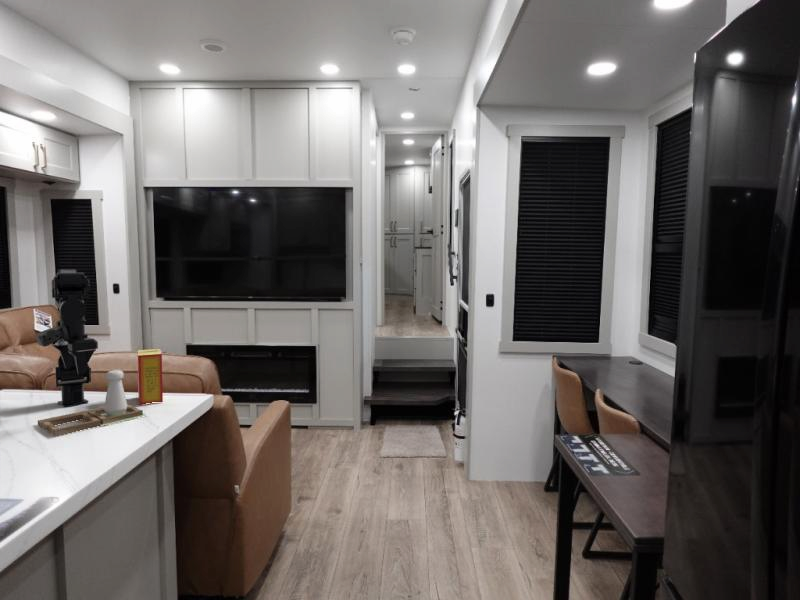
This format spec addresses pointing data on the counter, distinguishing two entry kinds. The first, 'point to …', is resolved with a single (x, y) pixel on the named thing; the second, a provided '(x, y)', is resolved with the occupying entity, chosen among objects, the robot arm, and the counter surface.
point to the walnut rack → (91, 416)
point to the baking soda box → (150, 376)
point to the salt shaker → (115, 394)
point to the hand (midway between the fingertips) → (74, 371)
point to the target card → (120, 420)
